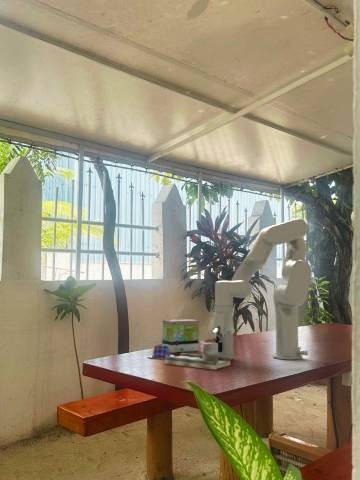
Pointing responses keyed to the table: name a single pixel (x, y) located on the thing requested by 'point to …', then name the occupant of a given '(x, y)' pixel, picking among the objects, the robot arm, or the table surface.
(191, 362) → the grey tray
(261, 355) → the table surface
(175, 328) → the tea box
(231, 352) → the can
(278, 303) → the robot arm
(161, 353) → the blue plaid cloth
